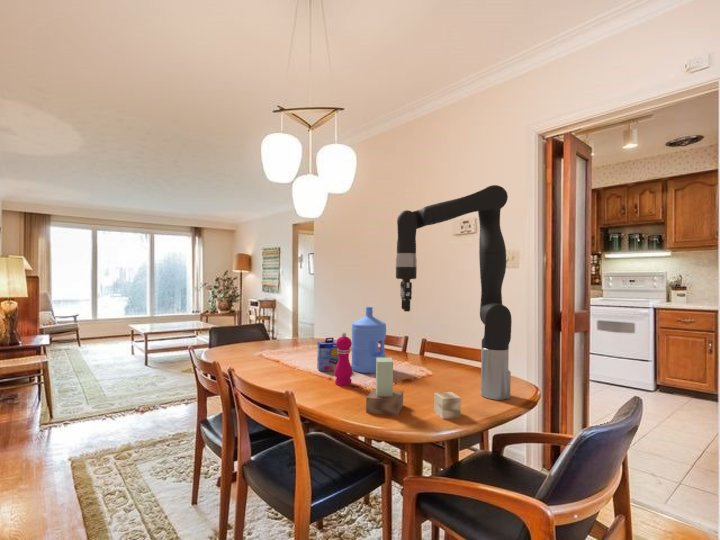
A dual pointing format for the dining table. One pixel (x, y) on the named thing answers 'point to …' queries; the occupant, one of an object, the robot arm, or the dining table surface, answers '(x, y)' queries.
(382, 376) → the sage block
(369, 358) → the water jug
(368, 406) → the walnut block
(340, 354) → the pepper mill
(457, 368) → the dining table surface
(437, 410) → the maple cube
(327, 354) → the ink cartridge box
